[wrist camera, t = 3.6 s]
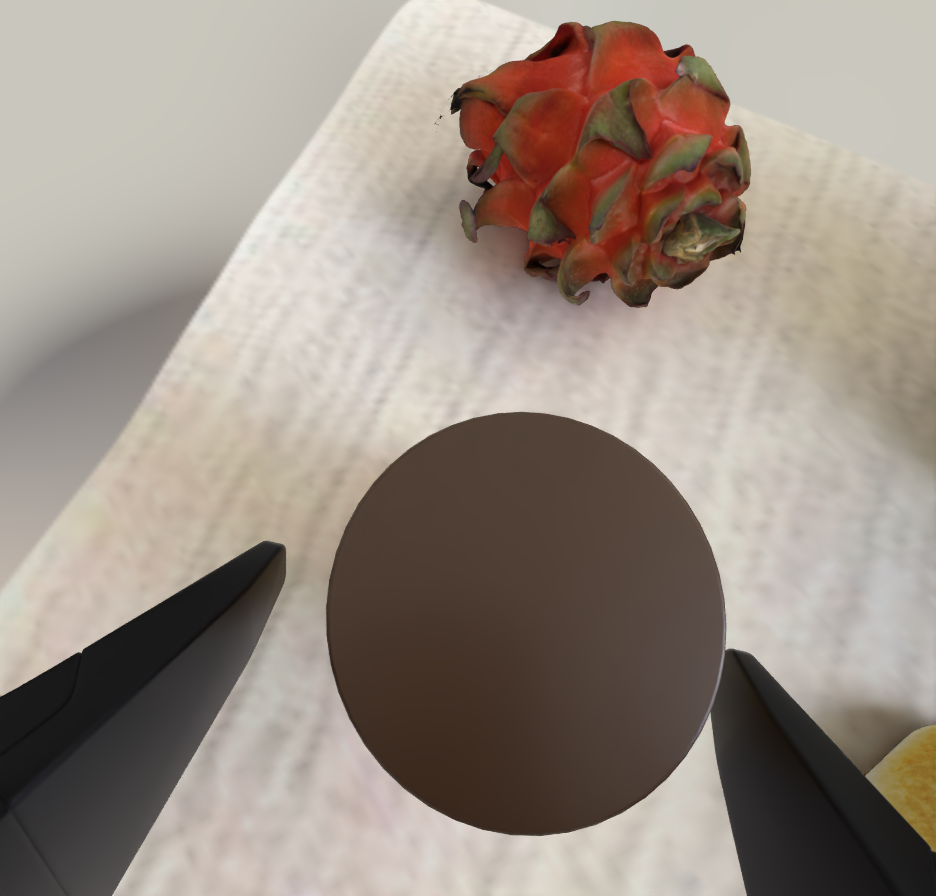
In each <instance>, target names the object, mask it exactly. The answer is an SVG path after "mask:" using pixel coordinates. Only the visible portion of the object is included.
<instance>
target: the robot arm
mask: <svg viewBox="0 0 936 896" xmlns="http://www.w3.org/2000/svg"><path fill="white" fill-rule="evenodd" d="M285 577H286V548H285V546H284V545H282V544H279V543H275V542H271V541H263V542H261V543H259V544H258V545H256V546H254V547H253V548H251V549H249V550H248V551H246V552H244V553H243V554H241V555H239V556H238V557H236V558H234V559H233V560H231V561H229V562H228V563H226V564H224V565H223V566H221V567H219V568H218V569H216V570H214V571H213V572H211V573H209V574H208V575H206V576H204V577H203V578H201V579H199V580H198V581H196V582H194V583H193V584H191V585H189V586H188V587H186V588H184V589H183V590H181V591H179V592H178V593H176V594H174V595H173V596H171V597H169V598H168V599H166V600H164V601H163V602H161V603H159V604H158V605H156V606H154V607H153V608H151V609H149V610H148V611H146V612H144V613H143V614H141V615H139V616H138V617H136V618H134V619H133V620H131V621H129V622H128V623H126V624H124V625H123V626H121V627H119V628H118V629H116V630H114V631H113V632H111V633H110V634H108V635H106V636H105V637H103V638H101V639H100V640H98V641H96V642H95V643H93V644H91V645H90V646H88V647H86V648H85V649H83V651H82V653H80V652H78V653H76V654H74V655H73V656H71V657H69V658H68V659H66V660H64V661H63V662H61V663H59V664H58V665H56V666H54V667H53V668H51V669H49V670H47V671H46V672H44V673H42V674H40V675H39V676H37V677H35V678H33V679H32V680H30V681H28V682H27V683H25V684H23V685H21V686H20V687H18V688H16V689H14V690H12V691H11V692H9V693H7V694H5V695H3V696H1V697H0V896H112V894H113V893H114V891H115V889H116V888H117V886H118V884H119V882H120V881H121V879H122V877H123V876H124V874H125V872H126V870H127V869H128V867H129V865H130V864H131V862H132V860H133V858H134V857H135V855H136V853H137V852H138V850H139V848H140V846H141V845H142V843H143V841H144V840H145V838H146V836H147V834H148V833H149V831H150V829H151V828H152V826H153V824H154V822H155V821H156V819H157V817H158V816H159V814H160V812H161V810H162V809H163V807H164V805H165V804H166V802H167V800H168V798H169V797H170V795H171V793H172V792H173V790H174V788H175V786H176V785H177V783H178V781H179V780H180V778H181V776H182V774H183V773H184V771H185V769H186V768H187V766H188V764H189V762H190V761H191V759H192V757H193V756H194V754H195V752H196V750H197V749H198V747H199V745H200V744H201V742H202V740H203V738H204V737H205V735H206V733H207V732H208V730H209V728H210V726H211V725H212V723H213V721H214V720H215V718H216V716H217V714H218V713H219V711H220V709H221V708H222V706H223V704H224V702H225V701H226V699H227V697H228V696H229V694H230V692H231V690H232V689H233V687H234V685H235V684H236V682H237V680H238V678H239V677H240V675H241V673H242V672H243V670H244V668H245V666H246V665H247V663H248V661H249V659H250V657H251V655H252V653H253V651H254V649H255V647H256V645H257V643H258V640H259V638H260V636H261V634H262V631H263V629H264V627H265V625H266V622H267V620H268V618H269V616H270V614H271V611H272V609H273V607H274V605H275V602H276V600H277V598H278V596H279V593H280V591H281V589H282V587H283V584H284V581H285ZM710 713H711V721H712V729H713V737H714V745H715V752H716V759H717V765H718V770H719V775H720V779H721V784H722V788H723V793H724V797H725V801H726V806H727V810H728V815H729V819H730V823H731V828H732V832H733V837H734V841H735V845H736V850H737V854H738V859H739V863H740V868H741V872H742V876H743V881H744V885H745V890H746V894H747V896H936V852H935V851H931V847H930V846H929V844H928V843H927V842H926V841H925V840H924V839H923V838H922V837H921V836H920V835H919V834H918V833H917V831H916V830H915V829H914V828H913V827H912V826H911V825H910V824H909V823H908V822H907V821H906V820H905V819H904V818H903V816H902V815H901V814H900V813H899V812H898V811H897V810H896V809H895V808H894V807H893V806H892V805H891V804H890V802H889V801H888V800H887V799H886V798H885V797H884V796H883V795H882V794H881V793H880V792H879V791H878V790H877V789H876V787H875V786H874V785H873V784H872V783H871V782H870V781H869V780H868V779H867V778H866V777H865V776H864V775H863V773H862V772H861V771H860V770H859V769H858V768H857V767H856V766H855V765H854V764H853V763H852V762H851V761H850V759H849V758H848V757H847V756H846V755H845V754H844V753H843V752H842V751H841V750H840V749H839V748H838V747H837V746H836V744H835V743H834V742H833V741H832V740H831V739H830V738H829V737H828V736H827V735H826V734H825V733H824V732H823V730H822V729H821V728H820V727H819V726H818V725H817V724H816V723H815V722H814V721H813V720H812V719H811V718H810V717H809V715H808V714H807V713H806V712H805V711H804V710H803V709H802V708H801V707H800V706H799V705H798V704H797V703H796V701H795V700H794V699H793V698H792V697H791V696H790V695H789V694H788V693H787V692H786V691H785V690H784V689H783V688H782V686H781V685H780V684H779V683H778V682H777V681H776V680H775V679H774V678H773V677H772V676H771V675H770V674H769V672H768V671H767V670H766V669H765V668H764V667H763V666H762V665H761V664H760V663H759V662H758V661H757V660H756V659H755V657H753V656H752V655H751V654H750V653H747V652H744V651H740V650H735V649H727V650H725V657H724V663H723V668H722V674H721V680H720V684H719V687H718V690H717V693H716V697H715V700H714V703H713V706H712V709H711V711H710Z"/></svg>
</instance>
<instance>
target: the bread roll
mask: <svg viewBox="0 0 936 896" xmlns="http://www.w3.org/2000/svg"><path fill="white" fill-rule="evenodd" d="M865 777H866V778H867V779H868V780H869V781H870V782H871V783H872V784H873V785H874V786H875V787H876V789H877V790H878V791H879V792H880V793H881V794H882V795H883V796H884V797H885V798H886V799H887V800H888V801H889V802H890V804H891V805H892V806H893V807H894V808H895V809H896V810H897V811H898V812H899V813H900V814H901V815H902V816H903V818H904V819H905V820H906V821H907V822H908V823H909V824H910V825H911V826H912V827H913V828H914V829H915V830H916V831H917V833H918V834H919V835H920V836H921V837H922V838H923V839H924V840H925V841H926V842H927V843H928V844H929V846H930V847H931V851H935V852H936V725H929V726H925V727H922V728H920V729H917V730H915V731H913V732H912V733H911V734H910V735H908V736H907V737H906V738H905V739H904V740H902V741H901V742H900V743H899V744H898V745H897V746H896V747H895V748H894V749H893V750H892V751H891V752H890V753H888V754H887V755H886V756H885V757H884V758H883V760H882V761H881V762H880V763H878V764H877V765H876V766H875V767H874V768H873V769H872V770H871V771H870V772H869V773H867V774H866V776H865Z"/></svg>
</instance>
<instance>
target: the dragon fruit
mask: <svg viewBox="0 0 936 896" xmlns="http://www.w3.org/2000/svg"><path fill="white" fill-rule="evenodd" d="M479 77H480V76H479ZM453 95H454V96H453ZM453 95H452V96H453V99H452V103H451V108H450V110H451V114H454V113H455V112H458V111H459V110H460V109H461V111H460V119H459V121H460V134H461V137H462V139H463V141H464V143H465V145H466V146H467V147H469V148H471V149H476V150H475V151H473V152H471V154H470V155H469V159H468V165H467V173H468V180H469V181H470V182H471V183H472V184H474V185H476V186H479V187H482V188H484V189H485V190H484V194H483V195H482V196H481V197H480V199H479V200H478V202H477V204H476V206H475V208H474V211H473V210H472V208H471V206H470V204H469V203H468V202H466V201H465V200H462V201H461V202H460V204H459V208H460V213H461V218H462V227H463V229H464V232H465V235H466V237H467V238H468V239H469V240H470V241H472V242H473V243H477V233H476V230H477V229H479V228H480V227H482V226H485V225H494V226H508V227H518V228H521V229H523V230H525V231H527V232H528V233H527V239H528V240H529V241H530V246H529V249H528V251H527V253H526V254H525V256H524V270H525V271H526V272H527V273H528V274H529V275H531V276H533V277H534V276H541V277H542V278H545V279H551V280H554V279H557V284H558V288H559V291H560V293H561V294H562V296H563V297H564V298H565V299H566V300H567V301H569V302H570V303H573V304H576V305H581V304H582V303H583V302H584V301H586V300H587V299H588V296H589V293H590V291H585V292H582V293H581V294H579V296H574V294H575V293H576V292H577V291H578V290H579V289H580V288H581V287H583V286H584V285H585V284H587V283H589V282H590V281H594V282H595V281H601V282H602V283H605V281H606V280H608V279H609V278H610V279H611V287H612V289H613V291H614V293H615V294H616V296H617V297H618V298H620V299H621V300H622V301H623V302H624V303H626V304H627V305H628V306H630V307H636V308H640V307H647V306H648V303H649V301H650V299H651V294H652V292H653V291H654V290H655V289H656V288H657V287H658V286H661V287H669V288H673V289H681V288H683V287H684V286H686V285H688V284H690V283H691V282H693V281H694V280H695V279H696V278H697V277H699V276H700V275H701V274H702V273H703V272H705V271H706V269H707V268H708V266H709V262H710V261H711V260H715V259H720V258H722V257H725V256H727V255H728V254H731V253H732V254H734V255H735V251H740V252H741V248H740V246H741V243H742V240H743V234H744V229H745V218H746V206H745V204H744V203H743V202H742V201H741V200H740V199H739V198H738V196H740V195H741V194H743V193H744V191H745V190H747V189H748V187H749V185H750V176H751V164H750V158H749V150H748V147H747V142H746V140H745V136H744V133H743V129H742V128H741V126H739V125H734V126H726V125H725V124H724V122H725V119H726V116H727V114H728V111H729V108H730V100H729V98H728V96H727V94H726V92H725V91H724V88H723V87H722V85H721V83H720V81H719V80H718V78H717V76H716V74H715V73H714V71H713V69H712V68H711V66H710V65H709V64H708V63H707V61H706V60H705V59H703V58H700V57H695V54H694V51H693V48H692V47H691V46H690V45H683V46H681V47H679V48H676V49H672V50H667V51H663V49H662V46H661V43H660V41H659V39H658V37H657V35H656V34H655V33H654V32H653V31H651V30H650V29H649V28H647V27H645V26H643V25H640V24H636V23H632V22H619V21H611V22H608V23H604V24H602V25H598V26H594V27H592V28H590V27H589V26H582V25H581V24H579V23H576V22H569V23H564V24H561V25H560V26H559V28H558V30H557V32H556V34H555V36H554V38H553V39H552V40H550V41H549V42H548V43H547V44H546V45H545V46H544V47H542V48H541V49H540V50H538V51H536V52H535V53H533V54H530V55H529V56H528V57H527V58H526V59H525V60H523V61H511V62H508V63H505V64H503V65H501V66H499V67H498V68H497V69H496V70H495V71H493V72H492V73H491V74H489V75H487V76H485V77H482V78H478V79H475V80H471V81H469V82H467V83H465V84H463V85H462V87H461V88H458V89H457V90H456V91H455V92H454V93H453ZM452 96H451V97H452ZM451 97H450V98H451ZM450 110H449V111H450ZM441 117H443V116H440V119H441ZM437 121H438V120H437ZM435 124H436V123H435ZM437 125H438V124H437ZM436 133H437V132H436ZM477 149H480V150H477ZM477 167H479V168H478V169H477ZM489 178H490V179H492V180H493V181H494V182H495V183H496V185H495V186H492V185H491V184H490V183H489V182H488V181H487V180H488V179H489ZM554 258H558V259H560V260H561V263H560V265H557V266H554V267H545V266H543V265H541V264H542V263H544V262H547V261H549V260H552V259H554Z"/></svg>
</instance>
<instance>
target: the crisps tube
mask: <svg viewBox="0 0 936 896" xmlns="http://www.w3.org/2000/svg"><path fill="white" fill-rule="evenodd" d="M326 628H327V642H328V649H329V656H330V663H331V667H332V671H333V675H334V678H335V682H336V686H337V689H338V693H339V695H340V697H341V700H342V702H343V705H344V707H345V709H346V712H347V714H348V717H349V719H350V721H351V722H352V724H353V726H354V728H355V729H356V731H357V733H358V734H359V736H360V738H361V740H362V741H363V743H364V745H365V746H366V747H367V749H368V750H369V751H370V752H371V754H372V755H373V756H374V758H375V759H376V760H377V761H378V763H379V764H380V765H381V766H382V768H383V769H384V770H385V771H386V772H387V773H388V774H389V775H390V776H391V777H392V778H394V779H395V780H396V781H397V782H398V783H399V784H400V785H401V786H402V787H403V788H404V789H405V790H406V791H408V792H409V793H411V794H412V795H413V796H415V797H416V798H418V799H419V800H420V801H422V802H423V803H424V804H426V805H427V806H429V807H431V808H433V809H434V810H436V811H438V812H440V813H442V814H444V815H446V816H448V817H450V818H452V819H454V820H456V821H459V822H462V823H465V824H468V825H471V826H473V827H476V828H479V829H482V830H487V831H492V832H498V833H503V834H509V835H528V836H544V835H552V834H560V833H568V832H572V831H575V830H579V829H582V828H586V827H590V826H593V825H596V824H599V823H601V822H603V821H605V820H607V819H610V818H612V817H614V816H616V815H618V814H621V813H623V812H624V811H626V810H627V809H629V808H630V807H632V806H633V805H635V804H636V803H638V802H639V801H641V800H643V799H644V798H646V797H647V796H648V795H649V794H650V793H651V792H652V791H654V790H655V789H656V788H657V787H658V786H659V785H660V784H661V783H663V782H664V781H665V780H666V779H667V778H668V777H669V776H670V775H671V773H672V772H673V771H674V770H675V769H676V767H677V766H678V765H679V764H680V763H681V762H682V760H683V759H684V758H685V757H686V755H687V754H688V752H689V750H690V749H691V747H692V746H693V744H694V743H695V741H696V739H697V738H698V736H699V735H700V733H701V731H702V729H703V727H704V724H705V722H706V720H707V718H708V716H709V713H710V711H711V709H712V706H713V703H714V700H715V697H716V693H717V690H718V687H719V684H720V680H721V674H722V668H723V663H724V657H725V644H726V615H725V602H724V595H723V590H722V585H721V580H720V575H719V571H718V568H717V565H716V562H715V559H714V555H713V552H712V549H711V547H710V544H709V542H708V540H707V538H706V536H705V534H704V531H703V529H702V527H701V525H700V523H699V521H698V520H697V518H696V516H695V515H694V513H693V511H692V510H691V508H690V506H689V505H688V503H687V502H686V500H685V499H684V498H683V496H682V495H681V494H680V493H679V491H678V490H677V489H676V487H675V486H674V485H673V484H672V482H671V481H670V480H669V479H668V478H667V477H666V476H665V475H664V474H663V473H662V472H661V471H660V470H659V469H658V468H657V467H656V466H655V465H654V464H653V463H652V462H650V461H649V460H648V459H647V458H645V457H644V456H643V455H642V454H640V453H639V452H638V451H637V450H635V449H634V448H632V447H631V446H629V445H628V444H626V443H624V442H623V441H621V440H619V439H618V438H616V437H615V436H613V435H611V434H609V433H606V432H604V431H602V430H600V429H598V428H596V427H593V426H591V425H588V424H585V423H582V422H579V421H576V420H573V419H570V418H566V417H560V416H555V415H550V414H544V413H529V412H513V413H497V414H492V415H487V416H481V417H476V418H472V419H469V420H466V421H463V422H460V423H457V424H454V425H451V426H449V427H447V428H445V429H443V430H440V431H438V432H436V433H434V434H432V435H430V436H428V437H427V438H425V439H424V440H422V441H421V442H419V443H417V444H416V445H414V446H413V447H411V448H410V449H408V450H407V451H406V452H405V453H404V454H402V455H401V456H400V457H399V458H398V459H396V460H395V461H394V462H393V463H392V464H390V465H389V467H388V468H387V469H386V470H385V471H384V472H383V473H382V474H381V475H380V476H379V477H378V478H377V480H376V481H375V482H374V483H373V484H372V485H371V487H370V488H369V490H368V491H367V492H366V494H365V495H364V497H363V498H362V499H361V501H360V502H359V504H358V505H357V507H356V509H355V511H354V513H353V515H352V517H351V518H350V520H349V522H348V524H347V526H346V528H345V530H344V533H343V536H342V538H341V541H340V543H339V546H338V549H337V551H336V555H335V559H334V563H333V567H332V571H331V575H330V579H329V588H328V596H327V605H326Z"/></svg>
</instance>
